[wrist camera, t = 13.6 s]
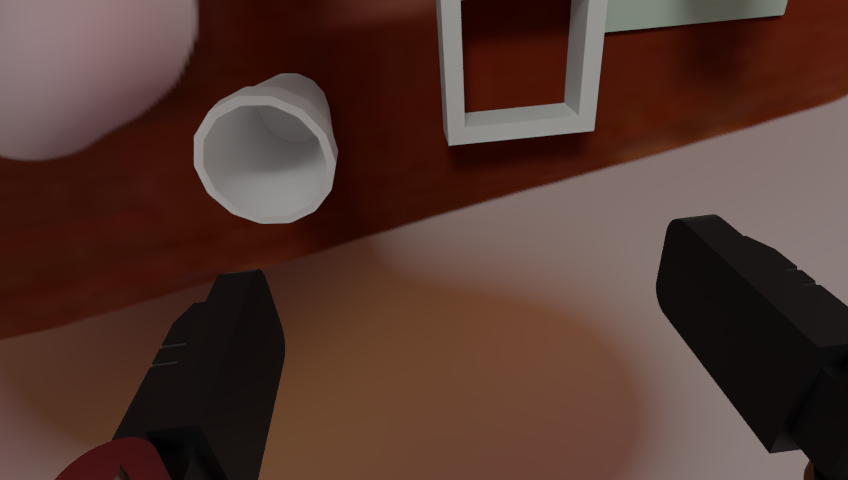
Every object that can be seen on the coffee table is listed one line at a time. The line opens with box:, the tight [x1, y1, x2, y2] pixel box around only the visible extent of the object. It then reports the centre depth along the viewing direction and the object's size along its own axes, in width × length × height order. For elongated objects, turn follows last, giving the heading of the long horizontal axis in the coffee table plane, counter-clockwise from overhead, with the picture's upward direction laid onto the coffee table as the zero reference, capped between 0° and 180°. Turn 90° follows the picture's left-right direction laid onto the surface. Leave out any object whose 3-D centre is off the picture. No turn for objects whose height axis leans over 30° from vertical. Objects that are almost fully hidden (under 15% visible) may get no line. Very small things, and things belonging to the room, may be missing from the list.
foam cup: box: [194, 74, 338, 224], centre depth 39 cm, size 10×9×13 cm
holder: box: [436, 0, 608, 146], centre depth 42 cm, size 13×13×4 cm
